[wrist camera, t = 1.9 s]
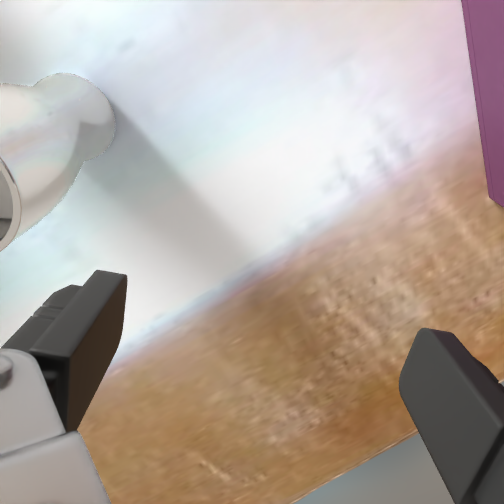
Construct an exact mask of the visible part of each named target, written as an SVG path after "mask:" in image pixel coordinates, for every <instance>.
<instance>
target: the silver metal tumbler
mask: <svg viewBox="0 0 504 504" xmlns="http://www.w3.org/2000/svg"><path fill="white" fill-rule="evenodd" d="M114 134H115V116H114V112H113V109H112V107H111V104H110V102H109V101H108V99H107V97H106V96H105V95H104V93H103V92H102V91H101V90H100V89H99V88H98V87H97V86H96V85H94V84H93V83H92V82H90V81H89V80H87V79H85V78H83V77H81V76H78V75H75V74H70V73H56V74H52V75H49V76H47V77H45V78H43V79H41V80H40V81H38V82H37V83H36V84H35V85H33V86H26V85H18V84H8V83H0V252H1V251H2V250H3V249H5V248H6V247H7V246H8V245H9V244H10V243H11V242H13V241H14V240H15V239H17V238H18V237H20V236H21V235H23V234H24V233H25V232H27V231H28V230H29V229H31V228H32V227H34V226H35V225H36V224H37V223H39V222H40V221H41V220H42V219H43V218H44V217H46V216H47V215H48V214H49V213H50V212H51V211H52V210H53V209H54V208H55V207H56V206H57V205H58V204H59V203H60V202H61V201H62V199H63V198H64V197H65V196H66V194H67V193H68V191H69V189H70V188H71V186H72V185H73V183H74V181H75V179H76V177H77V175H78V173H79V171H80V169H81V167H82V165H83V163H84V162H85V161H89V160H92V159H94V158H96V157H98V156H100V155H101V154H103V153H104V152H105V151H106V150H107V149H108V147H109V146H110V144H111V143H112V140H113V138H114Z"/></svg>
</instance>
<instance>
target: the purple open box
mask: <svg viewBox="0 0 504 504" xmlns="http://www.w3.org/2000/svg"><path fill="white" fill-rule="evenodd" d="M461 1H462V8H463V15H464V22H465V29H466V36H467V43H468V50H469V57H470V64H471V71H472V78H473V85H474V93H475V100H476V107H477V114H478V121H479V128H480V135H481V142H482V149H483V156H484V163H485V170H486V177H487V184H488V192H489V197H490V198H491V199H492V200H494V201H495V202H497V203H498V204H499V205H501V206H502V207H504V0H461Z"/></svg>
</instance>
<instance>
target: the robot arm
mask: <svg viewBox="0 0 504 504" xmlns="http://www.w3.org/2000/svg"><path fill="white" fill-rule="evenodd" d="M126 292H127V275H125V274H119V273H113V272H107V271H102V270H96V271H95V272H94V273H93V274H92V276H91V277H90V278H89V279H88V280H87V282H86V283H85V284H84V285H83V286H77V285H69V286H67V287H65V288H63V289H61V290H58V291H56V292H54V293H53V294H52V295H51V296H50V297H49V298H48V299H47V300H46V301H45V302H44V303H43V306H41V307H40V308H39V309H38V310H37V311H36V312H35V313H34V315H33V316H31V317H30V318H29V319H28V320H27V321H26V322H25V323H24V324H23V325H22V326H21V327H20V328H19V329H18V331H17V332H16V333H15V334H14V335H13V336H12V337H11V338H10V339H9V340H8V341H7V342H6V343H5V344H4V345H3V346H2V347H1V348H0V504H111V502H110V499H109V497H108V495H107V493H106V490H105V488H104V486H103V483H102V481H101V479H100V477H99V474H98V472H97V470H96V467H95V465H94V463H93V461H92V458H91V456H90V454H89V451H88V449H87V447H86V445H85V442H84V440H83V438H82V436H81V435H80V433H79V432H78V431H77V428H78V426H79V424H80V422H81V420H82V418H83V416H84V414H85V412H86V410H87V408H88V407H89V405H90V403H91V401H92V399H93V397H94V395H95V393H96V391H97V389H98V387H99V385H100V383H101V381H102V379H103V377H104V375H105V373H106V371H107V369H108V367H109V365H110V363H111V361H112V359H113V357H114V355H115V353H116V351H117V348H118V346H119V343H120V339H121V335H122V330H123V322H124V312H125V302H126ZM399 391H400V395H401V398H402V400H403V402H404V404H405V406H406V408H407V410H408V412H409V414H410V416H411V418H412V420H413V421H414V423H415V425H416V427H417V429H418V431H419V433H420V435H421V437H422V439H423V441H424V443H425V445H426V447H427V449H428V451H429V453H430V455H431V457H432V459H433V461H434V463H435V465H436V467H437V469H438V471H439V473H440V475H441V477H442V479H443V481H444V483H445V485H446V487H447V489H448V491H449V493H450V495H451V497H452V499H453V501H454V503H455V504H504V387H503V385H502V384H500V383H498V380H497V378H496V377H495V376H494V375H493V374H492V373H491V371H490V370H489V369H488V368H487V367H486V366H485V365H483V364H482V363H481V362H480V361H478V360H477V359H476V358H474V357H473V356H472V355H471V354H470V353H469V351H468V350H467V349H466V348H465V347H464V346H463V344H462V343H461V342H460V341H459V340H458V338H457V337H456V336H455V335H454V334H453V333H451V332H446V331H440V330H435V329H429V328H422V329H420V330H419V331H418V333H417V335H416V337H415V339H414V342H413V344H412V347H411V349H410V351H409V354H408V356H407V359H406V361H405V364H404V366H403V369H402V371H401V374H400V378H399Z"/></svg>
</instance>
